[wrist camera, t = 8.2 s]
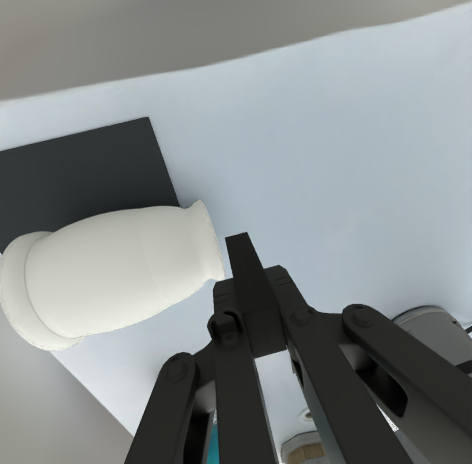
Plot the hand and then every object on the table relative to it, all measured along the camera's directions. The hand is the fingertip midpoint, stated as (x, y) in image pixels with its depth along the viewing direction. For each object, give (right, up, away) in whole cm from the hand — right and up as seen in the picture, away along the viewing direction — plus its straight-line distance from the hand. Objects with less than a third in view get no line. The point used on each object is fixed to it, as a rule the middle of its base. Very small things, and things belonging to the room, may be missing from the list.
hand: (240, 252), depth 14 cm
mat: (-16, +1, +10) cm, 19 cm away
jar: (-2, +1, +7) cm, 8 cm away
